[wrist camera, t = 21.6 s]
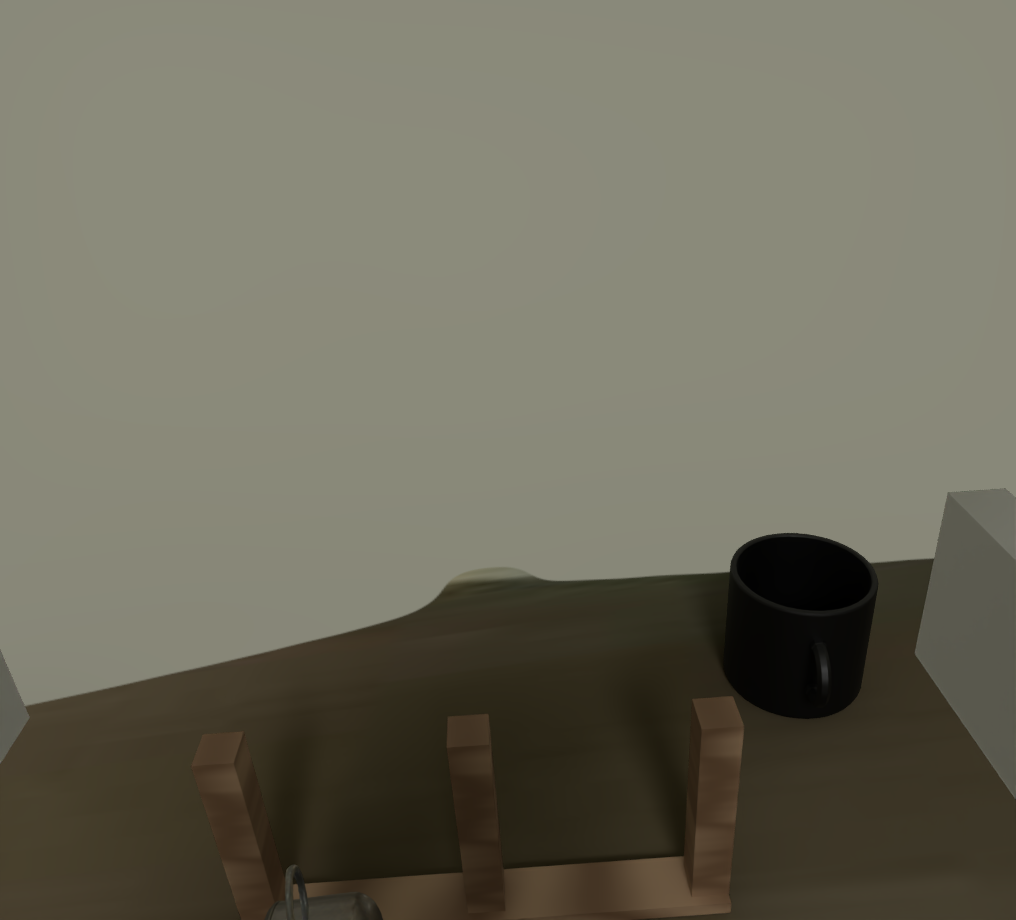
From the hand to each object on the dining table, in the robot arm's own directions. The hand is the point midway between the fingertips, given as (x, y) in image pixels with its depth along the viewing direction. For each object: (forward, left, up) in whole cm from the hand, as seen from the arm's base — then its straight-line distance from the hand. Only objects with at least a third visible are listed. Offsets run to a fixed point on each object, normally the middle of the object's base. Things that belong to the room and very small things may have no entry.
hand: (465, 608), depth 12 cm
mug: (-20, -36, -36) cm, 55 cm away
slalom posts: (+2, -21, -36) cm, 42 cm away
